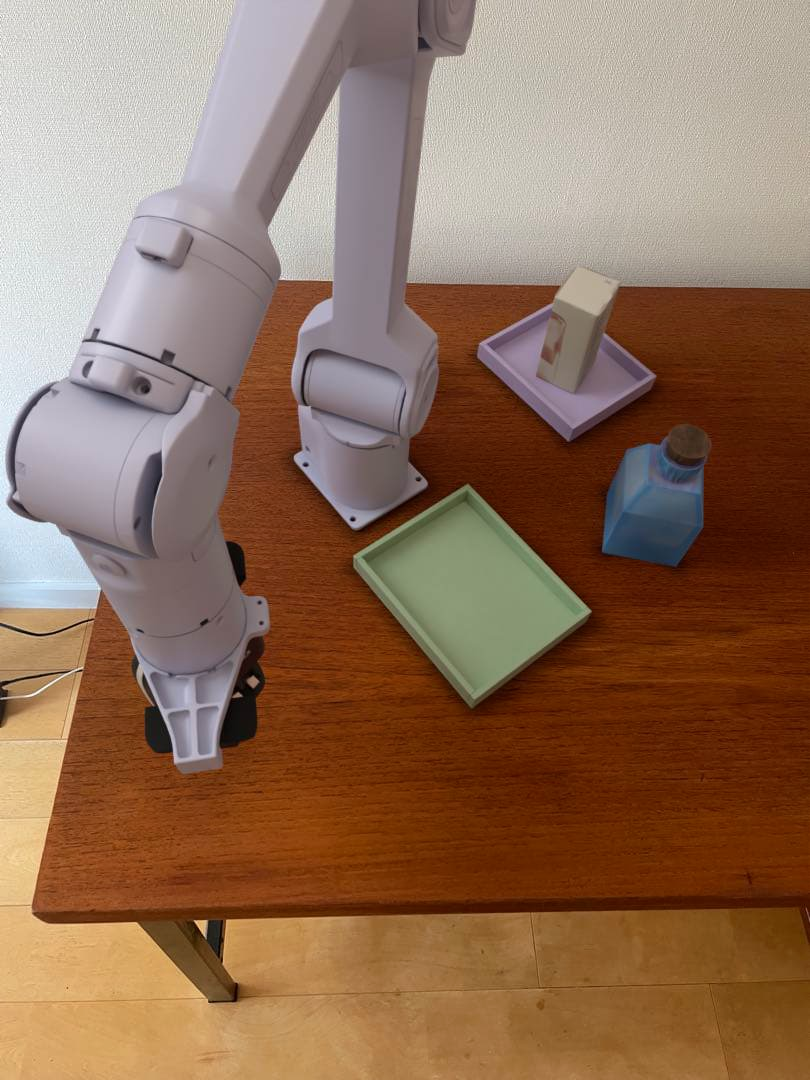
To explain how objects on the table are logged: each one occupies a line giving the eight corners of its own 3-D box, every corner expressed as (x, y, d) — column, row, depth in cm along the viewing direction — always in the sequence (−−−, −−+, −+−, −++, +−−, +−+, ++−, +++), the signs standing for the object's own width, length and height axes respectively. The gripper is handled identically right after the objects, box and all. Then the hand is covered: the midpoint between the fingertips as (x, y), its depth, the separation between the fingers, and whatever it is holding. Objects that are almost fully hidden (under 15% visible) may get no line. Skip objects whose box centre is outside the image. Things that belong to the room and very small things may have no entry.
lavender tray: (476, 357, 78) (479, 342, 76) (558, 311, 82) (562, 297, 80) (568, 442, 73) (573, 429, 71) (650, 389, 77) (657, 375, 75)
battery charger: (209, 768, 50) (171, 705, 40) (165, 731, 51) (118, 662, 41) (283, 684, 53) (265, 607, 43) (241, 651, 54) (214, 569, 44)
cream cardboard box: (555, 344, 79) (578, 261, 70) (595, 362, 78) (624, 280, 69) (531, 377, 76) (552, 295, 68) (573, 396, 75) (600, 315, 67)
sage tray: (353, 567, 65) (352, 555, 64) (465, 496, 69) (467, 483, 68) (471, 709, 59) (474, 700, 58) (586, 621, 64) (592, 611, 62)
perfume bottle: (676, 566, 67) (733, 482, 56) (602, 552, 67) (645, 466, 57) (677, 506, 70) (731, 417, 60) (607, 493, 70) (648, 401, 60)
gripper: (271, 717, 34) (295, 794, 46) (247, 450, 42) (273, 575, 53) (102, 742, 33) (169, 814, 45) (108, 465, 41) (165, 589, 52)
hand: (218, 686), depth 49 cm, fingers closed on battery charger, 6 cm apart
